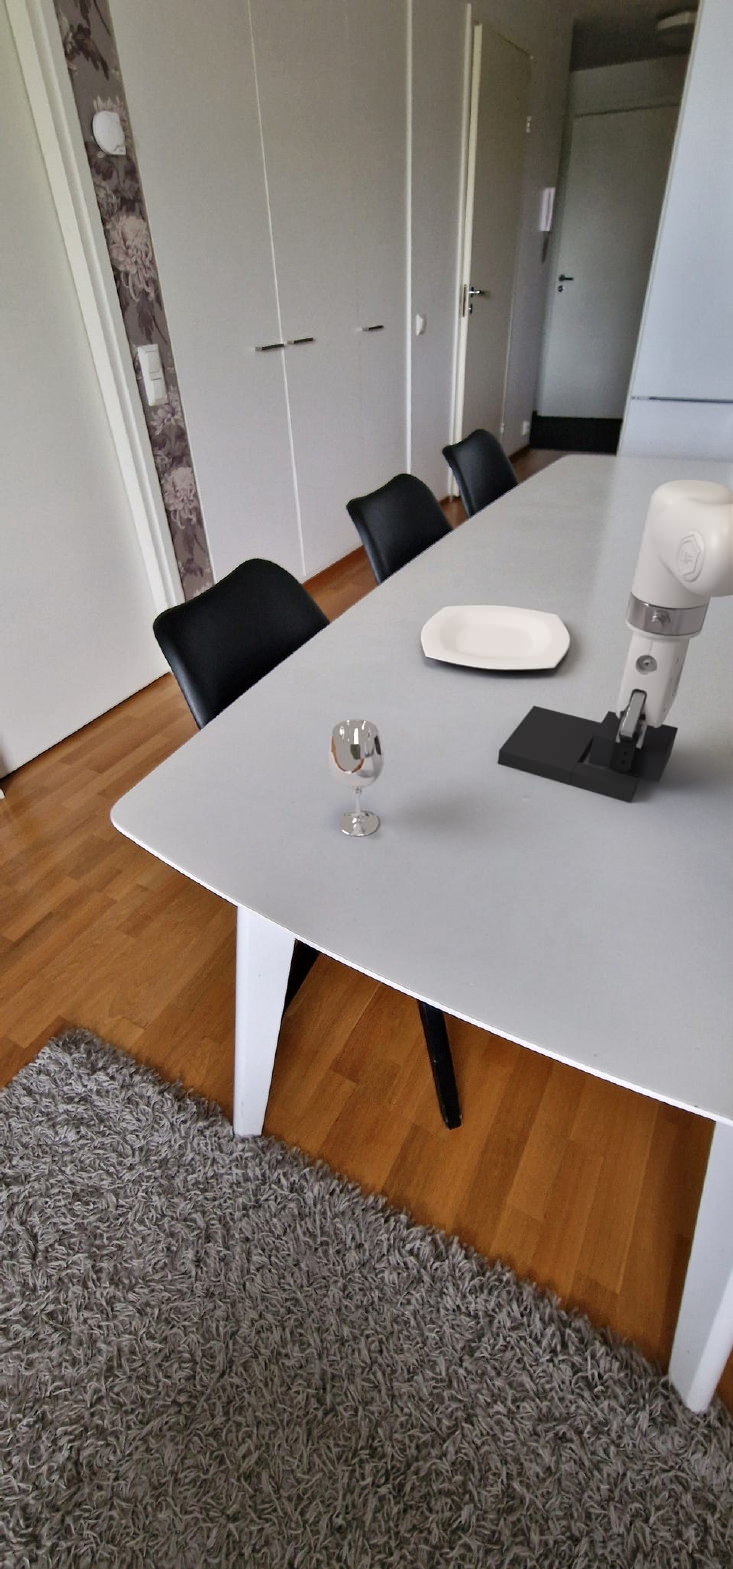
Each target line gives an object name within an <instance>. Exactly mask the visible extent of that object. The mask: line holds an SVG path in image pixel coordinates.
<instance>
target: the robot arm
mask: <svg viewBox="0 0 733 1569" xmlns="http://www.w3.org/2000/svg"><path fill="white" fill-rule="evenodd" d="M647 508H648V509H647V513H646V518H645V523H644V527H643V531H642V532H643V533H642V536H641V542H640V546H639V551H638V556H637V560H636V564H635V571H634V576H633V580H632V585H631V591H630V593H629V594H630V595H629V599H628V604H627V609H626V614H625V618H624V623H625V626H626V627H627V628H628V630H630V631H632V632H633V633H632V636H631V640H630V644H629V648H628V651H627V657H626V661H625V665H624V669H623V673H622V678H621V682H620V687H619V691H618V692H619V693H618V696H617V703H616V709H615V713H616V715H617V717H618V718H619V719H621V718H622V720H621V723H620V727H619V730H618V734H617V737H616V739H615V742H614V746H613V751H612V755H611V760H610V764H609V768H610V771H613V772H617V773H620V774H624V775H628V776H631V777H637V776H636V775H637V774H638V772H639V768H640V764H641V760H642V756H643V752H644V748H645V745H643V742H644V738H645V735H646V731H647V728H648V725H649V726H654V728H658V727H660V726H661V725H662V724H664V722H665V721H666V719H667V716H668V715H669V712H670V710H671V709H672V707H673V704H674V702H675V700H676V697H677V694H678V691H679V688H680V683H681V678H682V674H683V669H684V666H685V661H686V658H687V654H688V653H687V652H688V650H689V644H690V639H694V638H695V637H697V636H699V635H700V634H701V633H702V630H703V626H704V623H705V619H706V617H707V612H708V609H709V605H710V602H711V599H712V598H722V597H729V596H733V490H732V489H731V488H730V487H729V486H726V485H724V484H721V483H718V482H714V481H710V480H702V479H677V480H672V481H668V482H664V483H663V484H661V485H659V486H658V487H657V488H656V489H655V490H654V492H653V493H652V495H651V497H650V501H649V503H648V507H647ZM637 725H641V726H642V727H641V731H640V734H639V735H638V732H635V731H636V726H637ZM609 768H608V769H609Z"/></svg>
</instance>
